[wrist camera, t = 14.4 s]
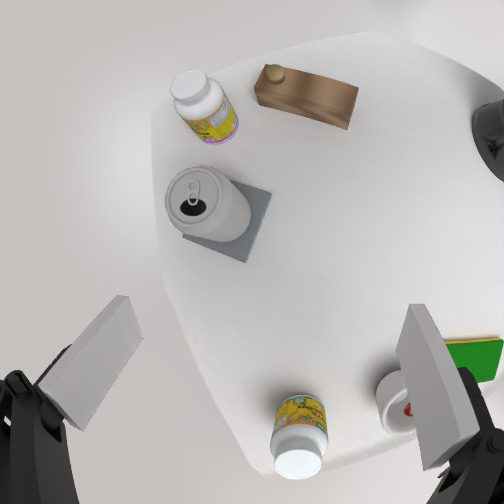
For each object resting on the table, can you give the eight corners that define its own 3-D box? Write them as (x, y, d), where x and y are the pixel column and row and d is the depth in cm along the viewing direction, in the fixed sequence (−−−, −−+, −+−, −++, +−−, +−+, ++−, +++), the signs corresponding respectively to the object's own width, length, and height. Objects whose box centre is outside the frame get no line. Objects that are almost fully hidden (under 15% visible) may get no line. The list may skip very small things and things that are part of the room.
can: (198, 241, 39) (154, 232, 27) (203, 189, 39) (163, 162, 27) (250, 244, 37) (224, 235, 25) (254, 190, 37) (231, 159, 26)
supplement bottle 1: (191, 131, 41) (153, 90, 28) (220, 103, 40) (191, 56, 27) (217, 154, 40) (182, 113, 27) (248, 124, 39) (225, 75, 26)
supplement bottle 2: (268, 416, 36) (252, 468, 24) (295, 384, 36) (289, 433, 23) (306, 437, 35) (303, 491, 22) (335, 406, 35) (342, 458, 22)
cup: (405, 338, 33) (426, 354, 25) (438, 362, 32) (461, 380, 24) (359, 396, 34) (369, 423, 26) (394, 416, 33) (408, 443, 25)
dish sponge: (437, 340, 32) (444, 344, 30) (497, 336, 30) (504, 339, 27) (427, 383, 32) (432, 389, 30) (487, 375, 30) (494, 380, 27)
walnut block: (354, 105, 36) (360, 79, 29) (346, 130, 36) (353, 105, 29) (270, 82, 39) (263, 55, 32) (259, 105, 39) (251, 79, 32)
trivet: (272, 195, 38) (271, 193, 37) (246, 262, 38) (244, 262, 37) (209, 175, 40) (207, 173, 39) (184, 237, 40) (182, 237, 39)
